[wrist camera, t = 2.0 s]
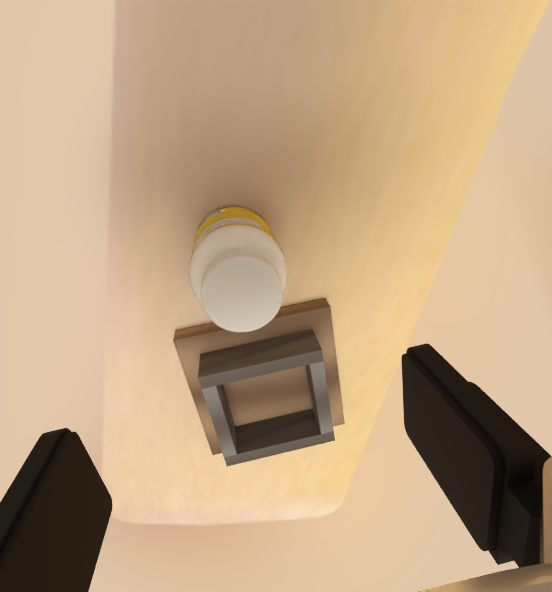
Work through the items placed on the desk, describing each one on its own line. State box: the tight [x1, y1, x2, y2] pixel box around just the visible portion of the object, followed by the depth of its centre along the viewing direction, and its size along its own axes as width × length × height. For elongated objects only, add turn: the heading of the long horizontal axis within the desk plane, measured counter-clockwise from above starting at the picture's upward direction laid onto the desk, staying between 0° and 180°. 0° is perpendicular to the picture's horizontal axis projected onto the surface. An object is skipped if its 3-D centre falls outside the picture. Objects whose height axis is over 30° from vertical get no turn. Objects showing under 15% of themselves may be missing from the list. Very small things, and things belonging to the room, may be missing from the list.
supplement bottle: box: [189, 206, 287, 332], centre depth 22 cm, size 5×5×10 cm
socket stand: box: [173, 298, 344, 466], centre depth 29 cm, size 12×12×4 cm
